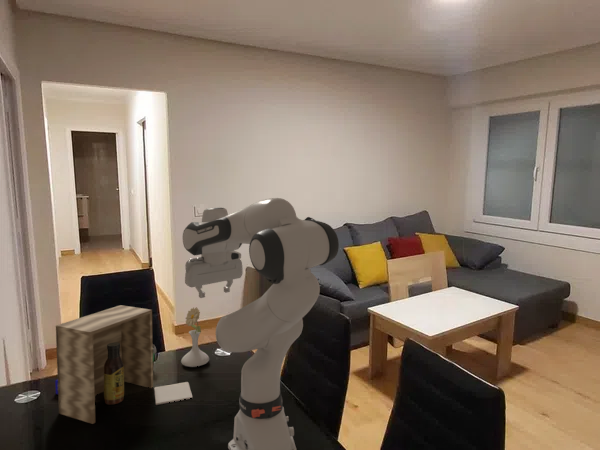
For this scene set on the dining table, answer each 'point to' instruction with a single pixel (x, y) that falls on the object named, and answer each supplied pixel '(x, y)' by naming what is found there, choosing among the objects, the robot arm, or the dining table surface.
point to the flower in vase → (194, 342)
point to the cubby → (101, 356)
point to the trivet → (172, 393)
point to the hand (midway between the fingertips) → (214, 294)
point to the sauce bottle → (113, 375)
